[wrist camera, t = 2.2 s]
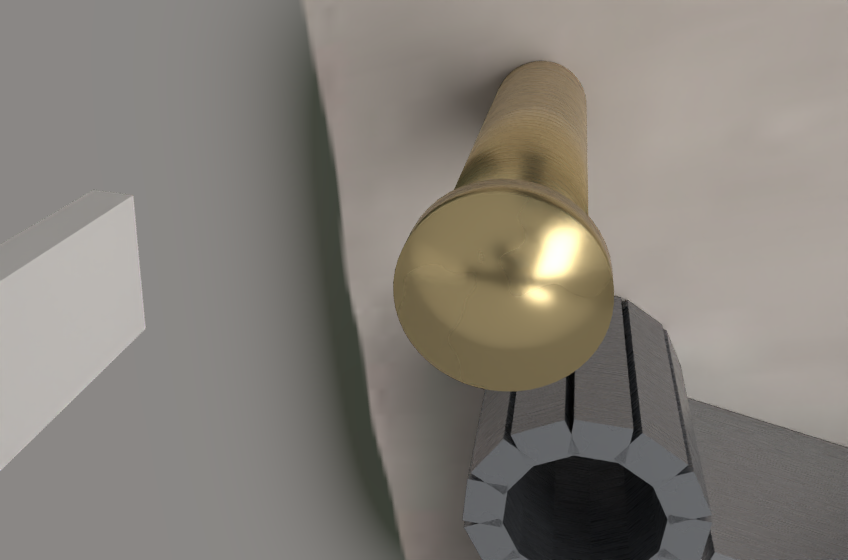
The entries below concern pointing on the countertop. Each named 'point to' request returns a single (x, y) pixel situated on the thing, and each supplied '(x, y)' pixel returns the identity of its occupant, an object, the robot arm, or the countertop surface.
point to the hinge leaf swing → (770, 489)
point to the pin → (512, 247)
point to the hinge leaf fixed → (593, 459)
